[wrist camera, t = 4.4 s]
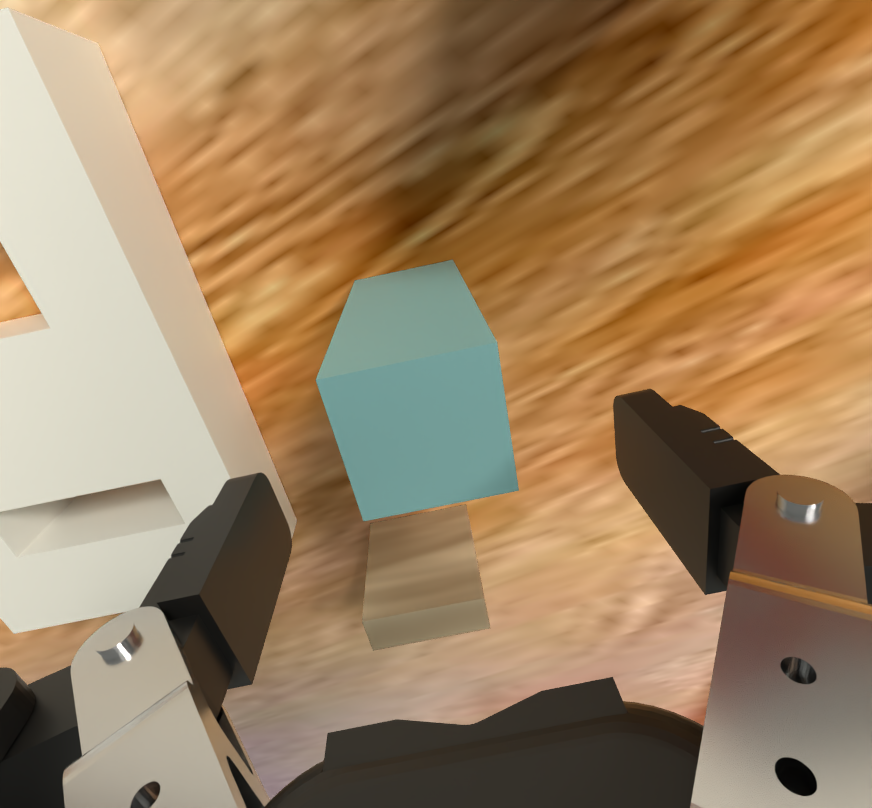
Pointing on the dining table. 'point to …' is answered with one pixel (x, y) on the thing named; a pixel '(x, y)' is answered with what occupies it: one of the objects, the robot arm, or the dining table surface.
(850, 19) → the dining table surface
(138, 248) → the socket block
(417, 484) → the square peg
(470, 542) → the block
